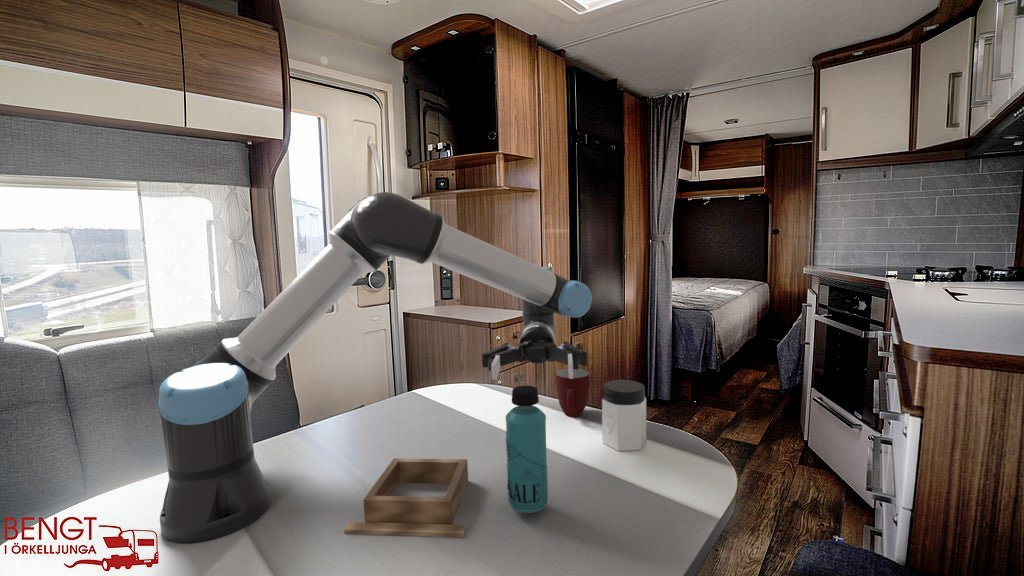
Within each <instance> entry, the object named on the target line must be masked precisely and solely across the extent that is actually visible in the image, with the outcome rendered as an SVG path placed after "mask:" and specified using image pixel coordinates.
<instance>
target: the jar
mask: <svg viewBox="0 0 1024 576" xmlns="http://www.w3.org/2000/svg"><path fill="white" fill-rule="evenodd" d="M602 390H603V391H602V392H603V393H602V394H603V397H602V399H601V426H602V427H601V429H602V434H601V435H602V436H601V437H602V439H601V440H602V444H604V445H606V446H607V447H610V448H611V449H613V450H615V451H617V452H625V451H630V452H631V450H632V451H641V450H642V449H643V446H644V445H645V443H646V441H647V396H645V395H646V394H645V393H646V392H645V391H646V388H645V385H644V384H643V383H641V382H640V381H639V382H638V381H636V380H630V379H614V380H610V381H606V382H605V383H604V384H603V389H602Z"/></svg>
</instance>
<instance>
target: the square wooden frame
mask: <svg viewBox="0 0 1024 576" xmlns="http://www.w3.org/2000/svg"><path fill="white" fill-rule="evenodd" d="M468 470H469V467H468V459H460V458H458V459H457V458H453V459H452V458H404V457H403V458H401V457H400V458H398V457H397V458H393V459H392V460H391V461H390V463H389V464H388V465H387V467H386V468H385V469H384V471H383V472H382V473H381V475H380V476H379V477H378V479H377V480H376V482H375V483H374V485H372V487H371V489H370V490H369V491H368V493H367V494H366V496H365V497H364V499H363V512H364V521H349V522H348V523H347V525H346V526H345V528H344V529H343V533H344V534H346V535H347V534H350V535H354V534H355V535H379V536H380V535H381V536H382V535H383V536H384V535H385V536H410V537H412V536H414V537H444V538H464V536H465V533H466V530H467V525H466V524H453V523H454V521H455V518H456V516H457V512H458V510H459V507H460V505H461V502H462V499H463V496H464V494H465V491H466V488H467V486H468V482H469V471H468ZM399 484H426V485H427V484H434V485H435V484H437V485H448V486H447V487H448V488H447V490H446V492H445V495H444V497H443V496H442V497H439V496H399V495H398V496H397V495H394V496H393V494H394V492H395V491H394V490H396V489H397V488H398V486H399Z"/></svg>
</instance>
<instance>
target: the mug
mask: <svg viewBox="0 0 1024 576" xmlns="http://www.w3.org/2000/svg"><path fill="white" fill-rule="evenodd" d="M554 377H555V378H554V382H555V390H556V395H557V399H558V404H559V406H560V408H561V410H562V412H563V414H564V415H565V416H567V417H571V418H576V417H579V416H581V415H582V414H583V413H584V410H585V408H586V406H587V404H588V398H589V392H590V385H591V382H590V381H591V379H590V372H589V370H586V369H583V368H579V369H573V379H569V371H568V368H562V369H561V368H560V369H558V370H556V371H555V373H554Z"/></svg>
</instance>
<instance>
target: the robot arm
mask: <svg viewBox="0 0 1024 576" xmlns="http://www.w3.org/2000/svg"><path fill="white" fill-rule="evenodd" d="M328 233H329V235H328V236H329V242H328V244H327V245H326V246H325V248H324V249H323V250H321V252H319V253H318V254H317V256H316V257H315V258H313V259H312V261H311V262H310V263H309V264H308V265H306V267H305V268H304V269H303V270H302V271H300V272H299V274H298V275H297V276H296V277H295V278H294V279H292V281H291V282H290V283H289V284H288V285H287V286H286V287H285V288H284V289H283V290H282V291H281V292H280V293H279V294H278V295H277V296H276V297H275V298H274V299H273V300H272V301H271V303H269V304H268V306H267V307H266V308H264V310H262V312H260V313H259V315H257V317H256V318H254V319H253V320H252V322H250V324H249V325H248V326H247V327H245V329H244V330H243V331H242V332H241V333H240V334H239V335H238V336H235V337H228V338H226V337H225V338H223V339H222V340H221V341H220V342H219V343H217V345H216V346H215V347H214V348H213V349H211V351H209V352H208V354H207V355H206V356H204V357H203V358H202V359H201V360H199V361H197V362H196V363H195V364H194V365H193V366H191V367H187V368H184V369H181V371H179V372H174V373H173V374H171V375H169V376H168V377H166V379H164V380H163V381H162V383H161V384H160V386H159V389H158V401H157V406H158V411H159V413H160V421H161V427H162V435H163V441H164V450H165V457H166V465H167V471H168V483H167V487H166V491H165V493H164V494H165V495H164V499H163V504H162V508H161V511H160V515H159V523H160V525H159V526H160V532H161V535H162V537H163V538H164V539H166V540H168V541H170V542H175V543H188V544H189V543H197V542H203V541H204V542H205V541H209V540H212V539H216V538H220V537H222V536H226V535H228V534H231V533H234V532H235V531H238V530H240V529H242V528H244V527H246V526H248V525H250V524H251V523H253V522H254V521H256V520H257V519H258V518H259V517H261V516H262V515H263V514H264V513H265V512H266V511H267V510H268V508H269V506H270V505H271V500H272V499H271V498H272V497H271V490H270V489H271V488H270V485H269V483H268V481H267V480H266V479H265V477H264V475H263V473H262V470H261V468H260V466H259V464H258V462H257V460H256V457H255V450H254V440H253V438H254V437H253V431H252V421H251V418H252V417H251V410H252V407H253V406H252V405H253V403H254V402H255V400H256V399H257V398H259V396H261V394H262V393H264V391H265V390H266V388H268V387H269V385H271V383H272V382H273V381H274V380H275V379H276V377H277V373H276V367H277V365H278V364H279V363H280V362H281V361H282V360H283V359H284V358H285V357H286V355H287V354H288V353H289V352H290V351H292V349H293V348H294V347H295V346H296V345H297V344H298V343H299V342H300V341H301V340H302V339H303V337H304V336H305V335H306V334H308V332H309V331H310V330H311V329H312V328H313V327H314V326H315V325H316V324H317V323H318V322H319V321H320V319H321V318H323V316H324V315H326V313H327V312H328V311H329V310H330V309H331V308H332V307H333V306H334V305H335V304H336V303H337V302H338V300H339V299H341V297H342V296H343V295H344V294H345V293H346V292H347V291H348V290H349V289H350V288H351V287H352V286H353V285H354V284H355V282H357V280H358V279H360V277H361V276H363V274H366V273H367V274H368V273H376V272H377V270H378V269H379V268H380V267H381V266H383V264H384V263H385V262H386V261H387V260H388V259H389V258H390V256H392V257H397V258H398V257H399V258H402V259H407V260H410V261H413V262H415V263H418V264H420V265H425V264H427V263H433V264H435V265H438V266H439V267H442V268H445V269H448V270H450V271H452V272H455V273H457V274H458V275H459V274H460V275H462V276H465V277H467V278H469V279H472V280H475V281H477V282H479V283H482V284H483V285H486V286H489V287H491V288H495V289H497V290H500V291H501V292H505V293H507V294H509V295H511V296H514V297H517V298H518V299H519V298H520V299H521V301H522V331H523V332H522V334H521V335H520V336H521V337H520V340H519V343H517V344H516V345H514V346H511V344H510V343H508V342H505V343H502V345H501V346H498V347H495V348H493V349H491V350H489V351H486V352H484V353H482V354H481V365H482V368H484V369H485V368H487V369H488V371H491V372H490V373H491V380H492V381H496V380H497V379H498V375H499V374H500V371H501V367H502V366H506V365H509V364H512V363H515V362H517V363H523V362H526V361H527V362H529V363H531V364H533V365H534V364H536V365H539V364H542V363H545V362H549V363H552V362H557V363H560V364H563V365H566V366H567V367H568V371H569V379H573V369H580V365H581V366H583V367H587V366H588V365H589V364H588V363H589V362H588V351H585V350H583V349H581V348H579V347H576V346H574V345H572V344H570V342H568V341H562V343H561V345H556V343H555V340H556V339H555V338H556V337H555V336H556V325H555V314H557V315H560V316H563V317H566V318H575V319H576V318H577V319H578V318H581V317H583V316H585V315H586V314H587V312H588V311H589V309H590V308H591V305H592V301H593V297H592V296H593V295H592V292H591V290H590V288H589V287H588V286H587V284H585V283H583V282H580V281H578V280H571V279H568V278H565V277H563V276H561V275H559V274H556V273H554V271H553V270H552V268H551V267H548V266H539V265H538V264H534V263H533V262H530V261H528V260H526V259H524V258H521V257H519V256H517V255H515V254H513V253H511V252H508V251H506V250H504V249H501V248H500V247H497V246H495V245H493V244H490V243H488V242H486V241H484V240H481V239H479V238H477V237H475V236H473V235H471V234H468V233H467V232H463V231H461V230H459V229H457V228H455V227H454V226H451V225H448V224H447V223H446V221H445V218H444V216H443V215H440V214H438V213H435V212H433V211H432V210H430V209H427V208H426V207H424V206H422V205H420V204H418V203H416V202H414V201H412V200H411V199H409V198H407V197H405V196H403V195H400V194H397V193H395V192H389V191H383V192H381V191H380V192H376V193H373V194H371V195H368V196H366V197H364V198H360V199H359V200H358V201H356V202H355V203H354V204H353V205H352V206H351V207H350V208H349V210H348V212H347V214H345V215H344V217H342V219H341V220H340V221H338V223H337V224H336V225H334V226H333V228H331V230H330V231H329V232H328Z"/></svg>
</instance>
